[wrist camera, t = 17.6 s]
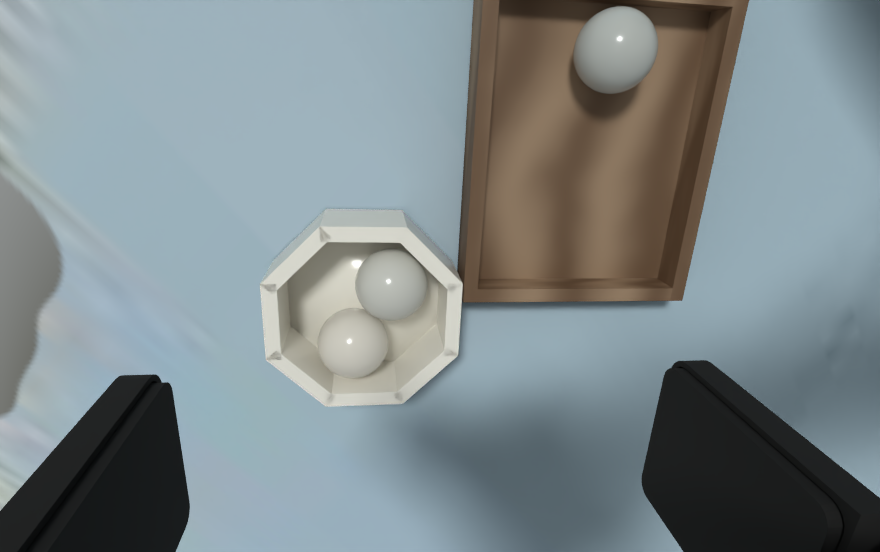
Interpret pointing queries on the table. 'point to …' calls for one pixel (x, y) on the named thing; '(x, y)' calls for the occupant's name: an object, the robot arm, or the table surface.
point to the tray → (588, 153)
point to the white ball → (391, 284)
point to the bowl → (333, 289)
